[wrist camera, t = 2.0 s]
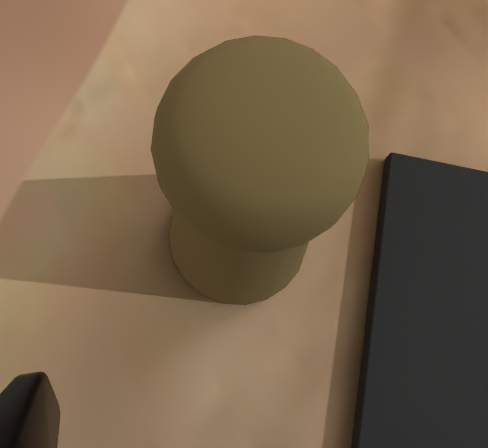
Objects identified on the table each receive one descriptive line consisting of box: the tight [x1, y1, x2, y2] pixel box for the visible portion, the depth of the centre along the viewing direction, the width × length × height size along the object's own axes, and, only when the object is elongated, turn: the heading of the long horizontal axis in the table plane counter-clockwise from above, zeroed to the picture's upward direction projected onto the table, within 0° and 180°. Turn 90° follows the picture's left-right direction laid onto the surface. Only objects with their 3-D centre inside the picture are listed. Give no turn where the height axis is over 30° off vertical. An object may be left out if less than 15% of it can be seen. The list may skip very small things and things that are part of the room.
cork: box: [151, 36, 369, 305], centre depth 15 cm, size 6×6×11 cm
